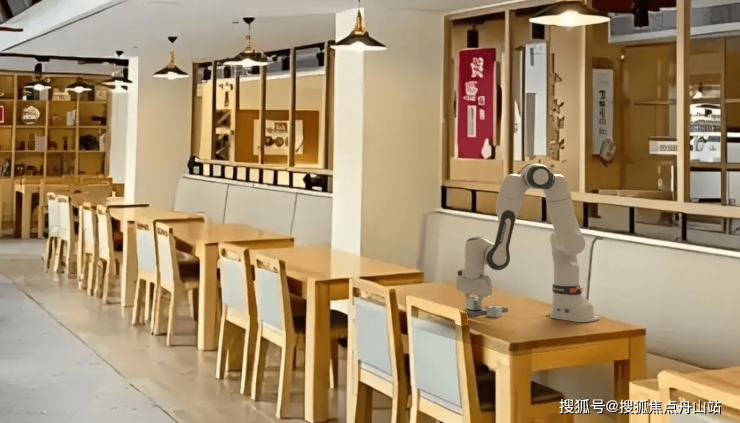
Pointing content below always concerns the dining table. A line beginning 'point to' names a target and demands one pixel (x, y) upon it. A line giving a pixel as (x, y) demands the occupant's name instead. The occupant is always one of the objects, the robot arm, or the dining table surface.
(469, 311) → the rail
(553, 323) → the dining table surface
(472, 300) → the grey cube
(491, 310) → the nut
